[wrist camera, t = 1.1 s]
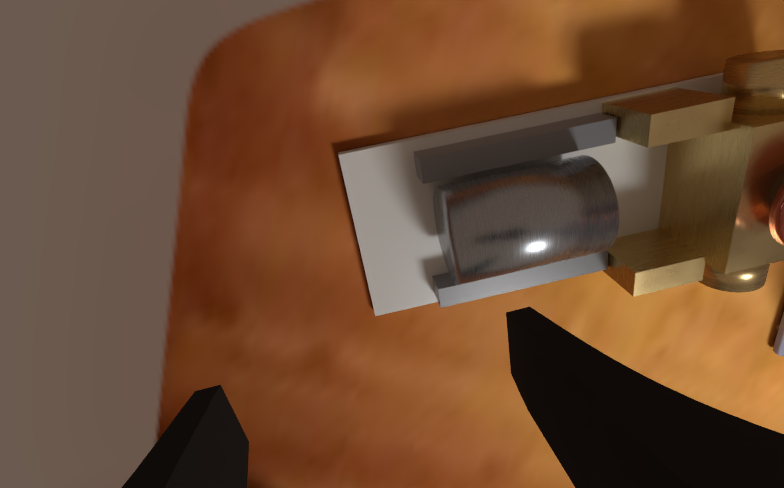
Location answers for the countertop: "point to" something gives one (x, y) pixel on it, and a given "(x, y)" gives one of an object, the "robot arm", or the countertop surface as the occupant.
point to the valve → (710, 181)
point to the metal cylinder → (525, 218)
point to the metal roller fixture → (481, 158)
